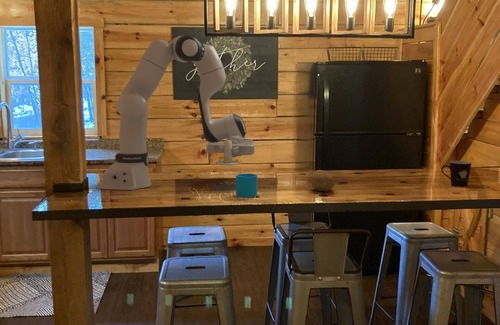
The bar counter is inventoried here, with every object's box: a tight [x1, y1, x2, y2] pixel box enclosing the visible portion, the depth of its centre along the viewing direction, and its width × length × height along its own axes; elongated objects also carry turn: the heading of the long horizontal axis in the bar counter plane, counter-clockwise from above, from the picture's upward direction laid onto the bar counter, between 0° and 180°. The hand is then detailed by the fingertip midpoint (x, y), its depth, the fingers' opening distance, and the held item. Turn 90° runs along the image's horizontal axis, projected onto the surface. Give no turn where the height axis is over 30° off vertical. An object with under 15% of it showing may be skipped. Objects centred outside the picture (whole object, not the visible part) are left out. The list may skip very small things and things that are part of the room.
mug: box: [235, 173, 258, 198], centre depth 206 cm, size 12×8×8 cm
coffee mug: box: [440, 160, 472, 188], centre depth 226 cm, size 12×9×10 cm
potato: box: [310, 169, 335, 192], centre depth 214 cm, size 10×14×8 cm
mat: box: [211, 184, 236, 192], centre depth 219 cm, size 14×12×1 cm
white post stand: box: [215, 139, 241, 167], centre depth 217 cm, size 10×10×10 cm
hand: (227, 150), depth 216 cm, fingers closed on white post stand, 3 cm apart
